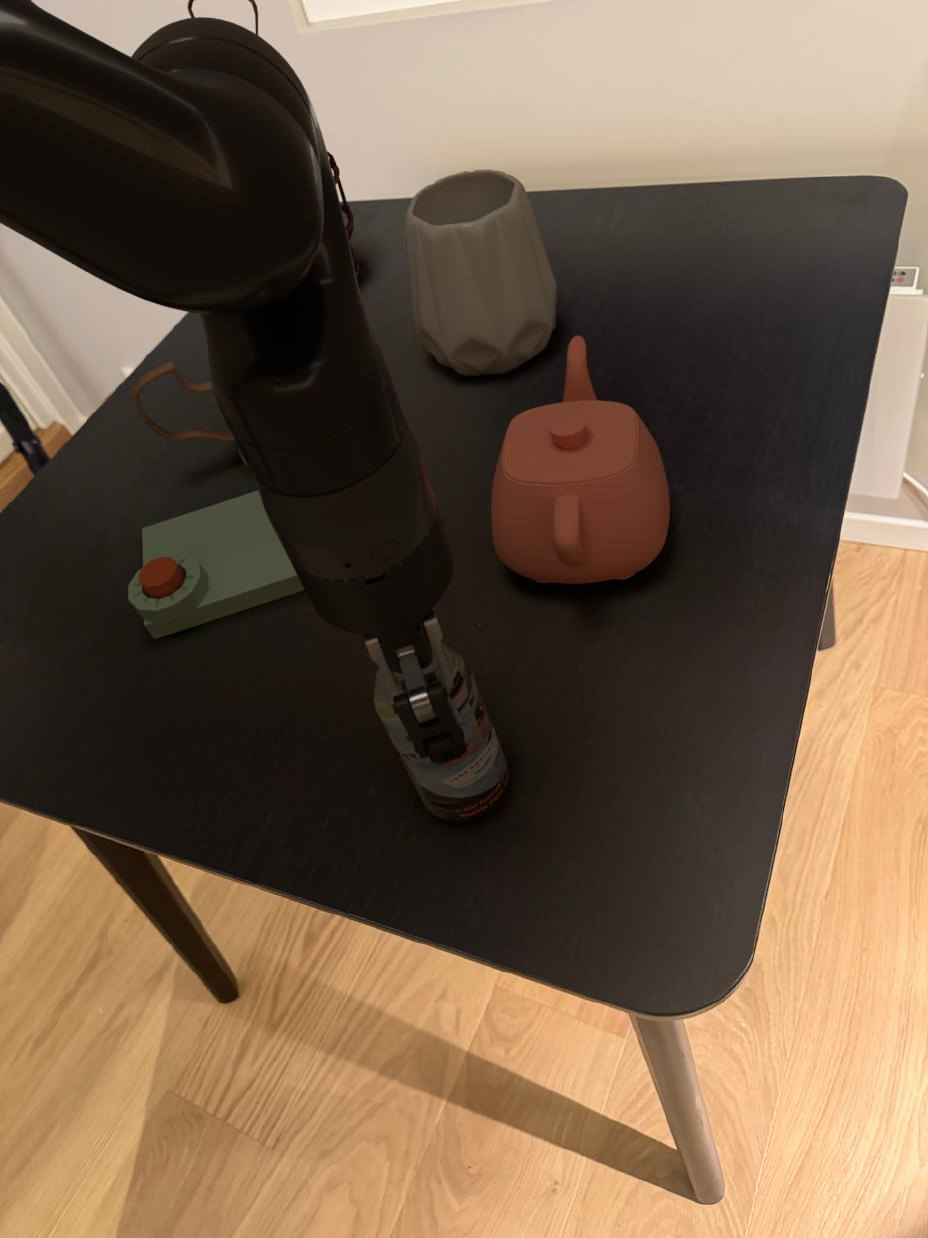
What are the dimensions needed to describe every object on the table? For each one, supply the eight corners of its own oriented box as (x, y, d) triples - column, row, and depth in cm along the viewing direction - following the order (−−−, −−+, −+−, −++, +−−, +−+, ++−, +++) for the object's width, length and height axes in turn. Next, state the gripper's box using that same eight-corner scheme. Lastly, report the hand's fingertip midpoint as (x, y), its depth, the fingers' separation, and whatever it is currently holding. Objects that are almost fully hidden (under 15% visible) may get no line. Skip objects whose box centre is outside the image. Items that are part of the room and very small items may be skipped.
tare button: (147, 604, 74) (138, 591, 73) (146, 576, 77) (138, 563, 75) (185, 591, 74) (177, 578, 73) (183, 564, 77) (175, 551, 75)
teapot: (669, 444, 78) (663, 319, 69) (673, 631, 66) (667, 508, 57) (513, 456, 82) (488, 337, 72) (489, 636, 69) (455, 520, 60)
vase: (556, 383, 87) (533, 229, 75) (412, 393, 90) (369, 247, 79) (570, 297, 95) (551, 148, 84) (437, 309, 99) (402, 167, 88)
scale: (148, 646, 76) (128, 619, 73) (145, 544, 84) (127, 517, 81) (318, 590, 76) (304, 561, 73) (299, 494, 84) (286, 465, 82)
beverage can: (461, 849, 59) (416, 752, 50) (394, 777, 63) (341, 675, 54) (534, 786, 61) (504, 680, 51) (464, 720, 65) (425, 612, 56)
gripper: (264, 447, 48) (357, 642, 61) (300, 653, 39) (401, 833, 52) (402, 402, 48) (466, 606, 61) (470, 597, 39) (529, 790, 52)
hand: (436, 709), depth 56 cm, fingers closed on beverage can, 6 cm apart
